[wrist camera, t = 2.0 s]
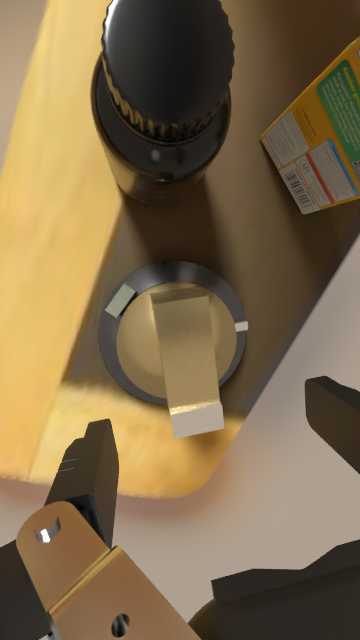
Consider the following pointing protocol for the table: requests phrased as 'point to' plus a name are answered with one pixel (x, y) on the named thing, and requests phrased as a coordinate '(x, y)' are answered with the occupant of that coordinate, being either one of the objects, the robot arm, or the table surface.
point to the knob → (179, 351)
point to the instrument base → (143, 281)
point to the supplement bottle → (162, 94)
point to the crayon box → (321, 137)
